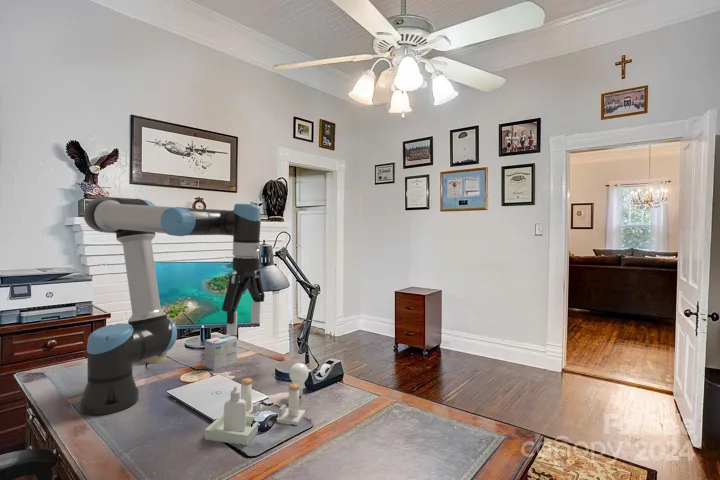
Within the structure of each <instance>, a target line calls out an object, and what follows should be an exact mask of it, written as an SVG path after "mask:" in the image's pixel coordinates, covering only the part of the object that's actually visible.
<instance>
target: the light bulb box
mask: <svg viewBox="0 0 720 480" xmlns="http://www.w3.org/2000/svg"><path fill="white" fill-rule="evenodd" d="M204 347H205V348H204V349H205V350H204V357H205V358H204V367H205V368H208V369H210V370H213V371H216V370H220V369H223V368H225V367H229V366H232V365H235V364H237V363H238V337H237V336H236V335H228V334H227V333H226V334H224V335H223V334H222V335H220V336H216V337H213V338H209V339H205V340H204Z"/></svg>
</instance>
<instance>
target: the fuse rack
mask: <svg viewBox="0 0 720 480" xmlns="http://www.w3.org/2000/svg"><path fill="white" fill-rule="evenodd" d="M252 383H253V379H252V378H250V377H245V378H241V380H240V384H241V385H240V386H241V387H240V388H241V389H240V399H243V400H245V401H246V414H247V415H255V414H256V412H257V411H259V410H261V411H262V410H263V409H264V404H261V401H258V400H257V401H256V402H255V403H252V390H253V388H252V387H253V384H252ZM299 388H300V385H299V384H297V383H293V382H292V383H289V384H288V407H287V404H282V405H281V406H280V407H279V409H278V416H277V417H276V419H277V422H280V423H279V424H284V423H289V424H288V425H291V424H294V425H293V426H299V424H300V423H301V421H302V419H303V418H304V417H305V415H306V410H305V409H300V397H299ZM300 420H301V421H300ZM298 423H299V424H298Z"/></svg>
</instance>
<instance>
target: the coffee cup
mask: <svg viewBox="0 0 720 480" xmlns="http://www.w3.org/2000/svg"><path fill="white" fill-rule="evenodd" d="M166 358H167V352H164V353H162V354H161V355H158V356H153V357H150V358H147V359H144V360H143V361H144V363H145V364H146V363H147V364H157V363H161V362H165V360H166Z"/></svg>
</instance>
